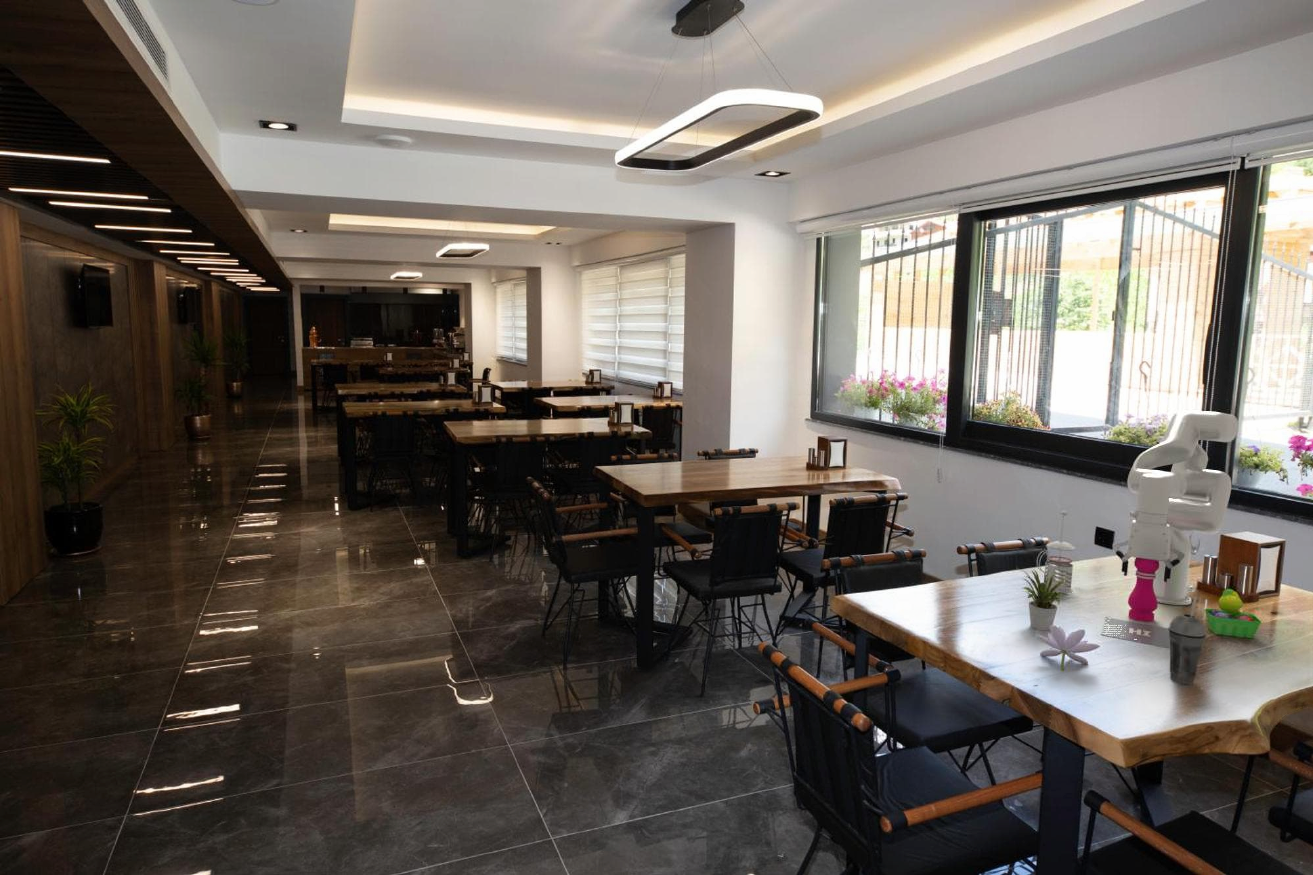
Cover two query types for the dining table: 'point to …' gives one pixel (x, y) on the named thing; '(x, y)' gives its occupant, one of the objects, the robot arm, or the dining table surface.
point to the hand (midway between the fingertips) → (1145, 577)
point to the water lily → (1066, 645)
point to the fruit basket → (1232, 617)
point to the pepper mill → (1144, 591)
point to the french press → (1059, 565)
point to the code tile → (1139, 632)
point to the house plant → (1042, 602)
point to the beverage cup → (1185, 646)
